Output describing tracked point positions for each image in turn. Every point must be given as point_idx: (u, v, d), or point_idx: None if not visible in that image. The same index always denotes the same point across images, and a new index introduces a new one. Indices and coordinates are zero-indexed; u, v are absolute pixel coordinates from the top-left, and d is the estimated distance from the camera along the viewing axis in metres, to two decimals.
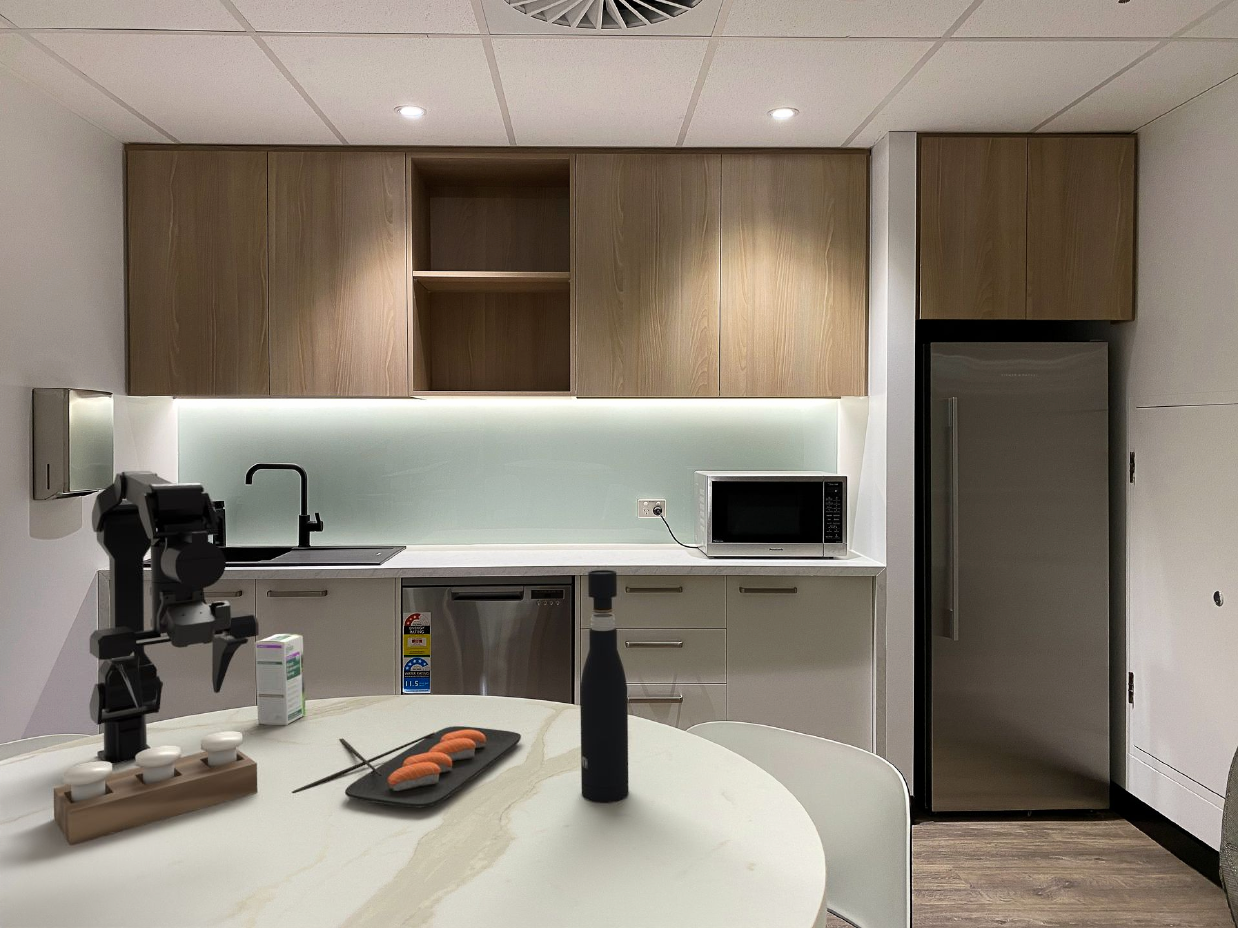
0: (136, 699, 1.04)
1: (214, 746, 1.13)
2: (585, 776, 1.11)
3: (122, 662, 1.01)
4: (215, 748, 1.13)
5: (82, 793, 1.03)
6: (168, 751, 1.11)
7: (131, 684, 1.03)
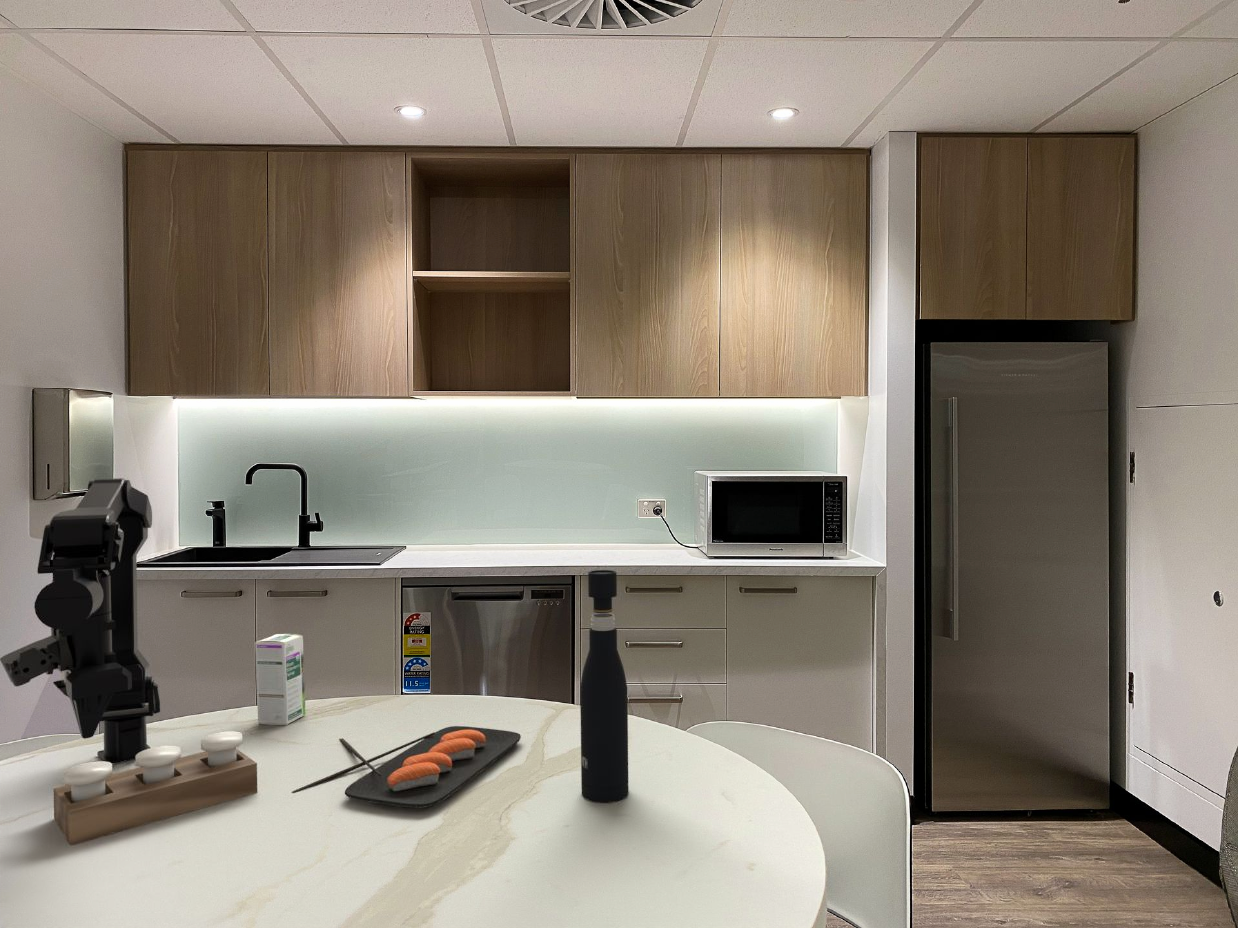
0: (79, 727, 1.05)
1: (214, 746, 1.13)
2: (585, 776, 1.11)
3: (55, 685, 1.05)
4: (215, 748, 1.13)
5: (82, 793, 1.03)
6: (168, 751, 1.11)
7: (74, 710, 1.05)
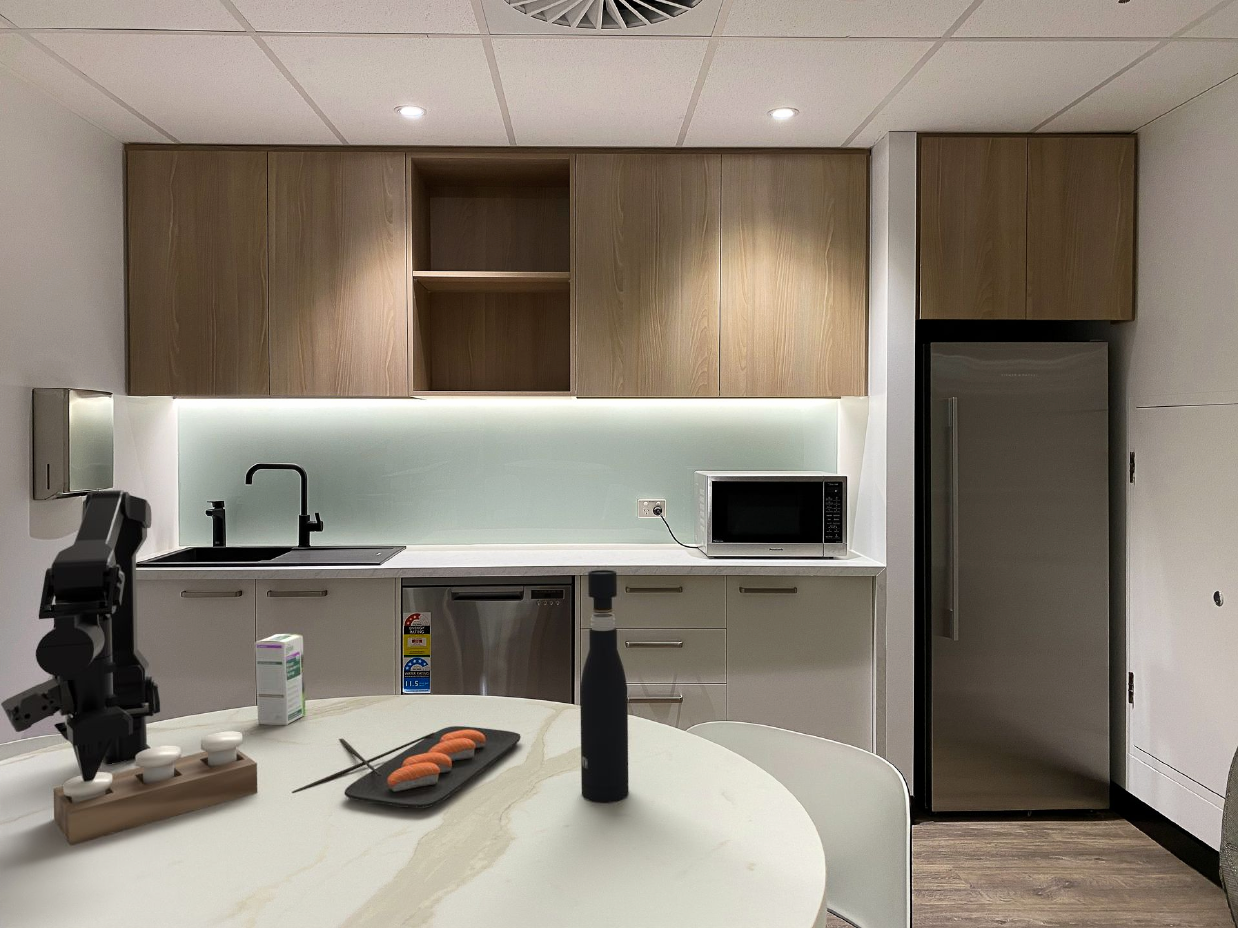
0: (80, 770, 1.05)
1: (214, 746, 1.13)
2: (585, 776, 1.11)
3: (56, 728, 1.05)
4: (215, 748, 1.13)
5: None
6: (168, 751, 1.11)
7: (75, 753, 1.05)
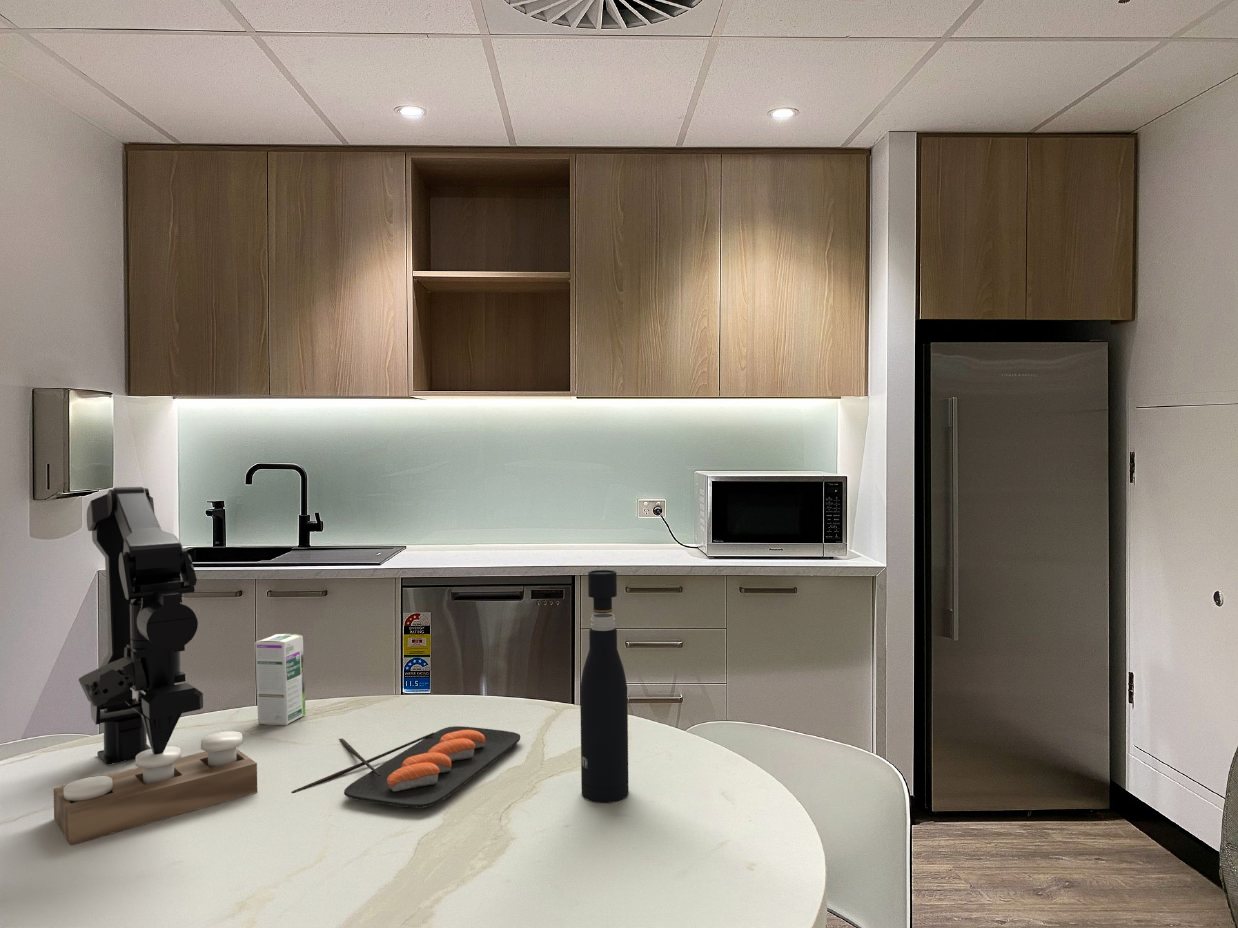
0: (150, 744, 1.11)
1: (214, 746, 1.13)
2: (585, 776, 1.11)
3: (127, 704, 1.10)
4: (215, 748, 1.13)
5: None
6: (168, 752, 1.11)
7: (145, 728, 1.11)
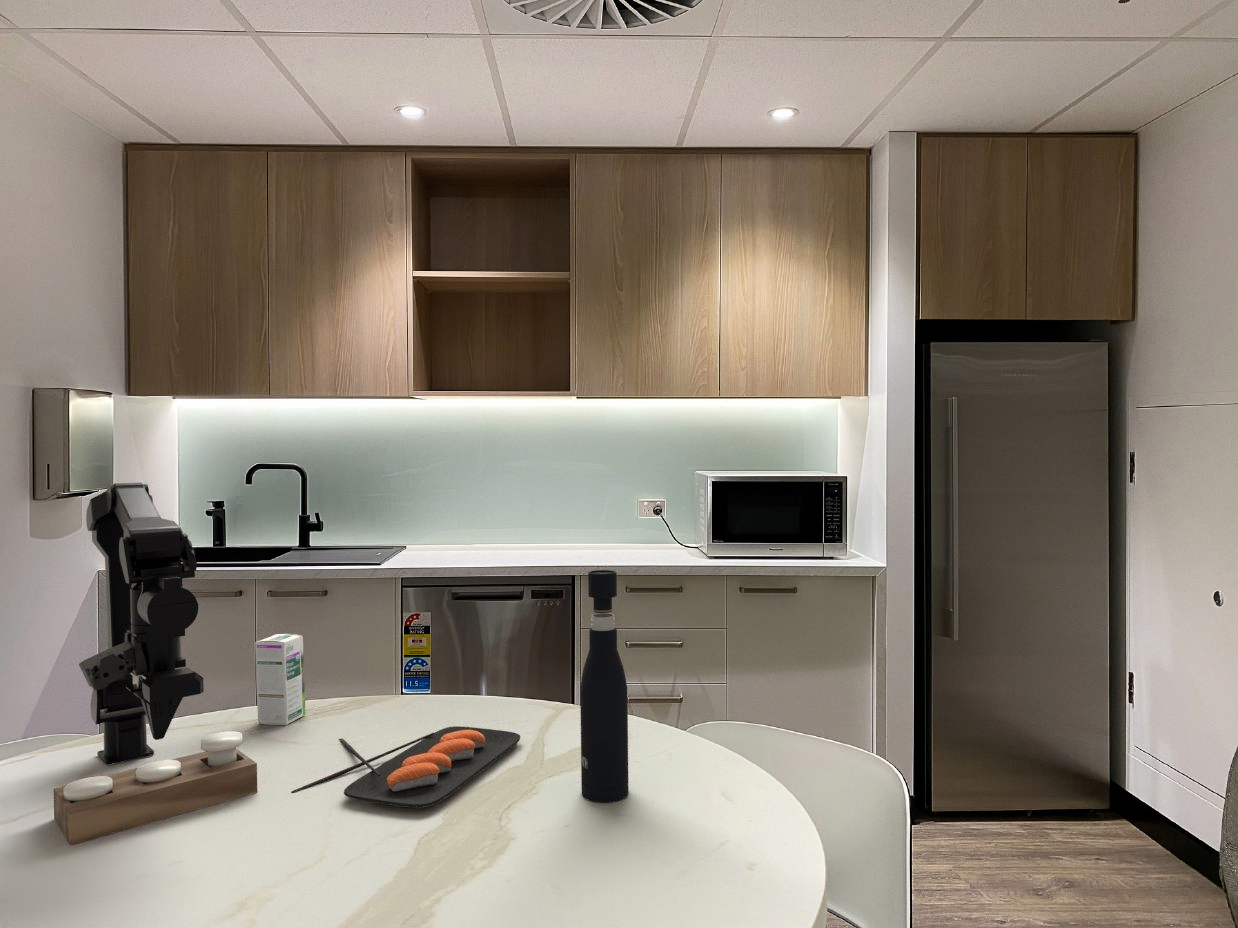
0: (150, 729, 1.10)
1: (214, 746, 1.13)
2: (585, 776, 1.11)
3: (128, 689, 1.10)
4: (215, 748, 1.13)
5: None
6: (168, 766, 1.11)
7: (145, 713, 1.11)
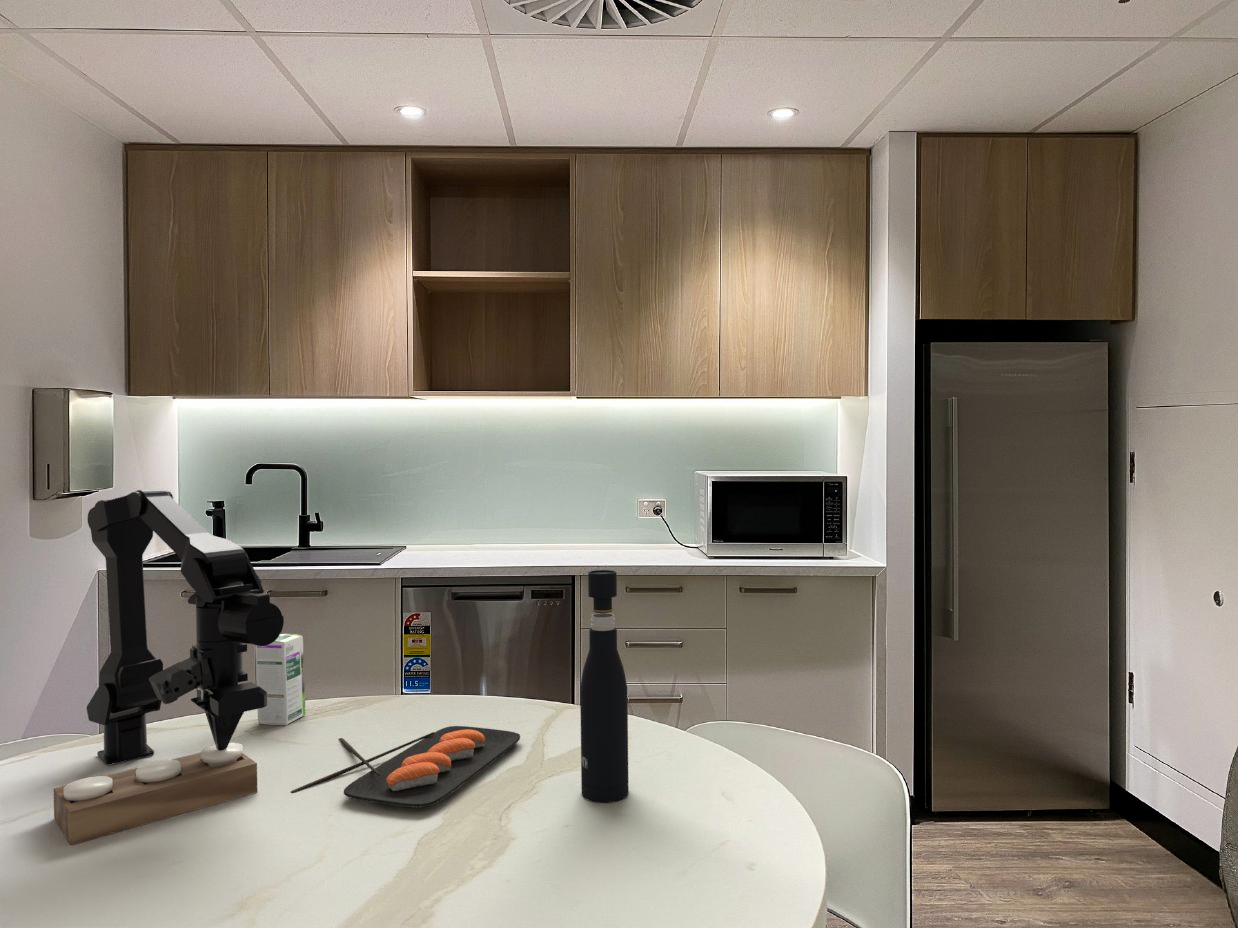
0: (214, 740, 1.16)
1: (214, 758, 1.13)
2: (585, 776, 1.11)
3: (193, 702, 1.16)
4: (215, 760, 1.13)
5: None
6: (168, 766, 1.11)
7: (209, 725, 1.16)
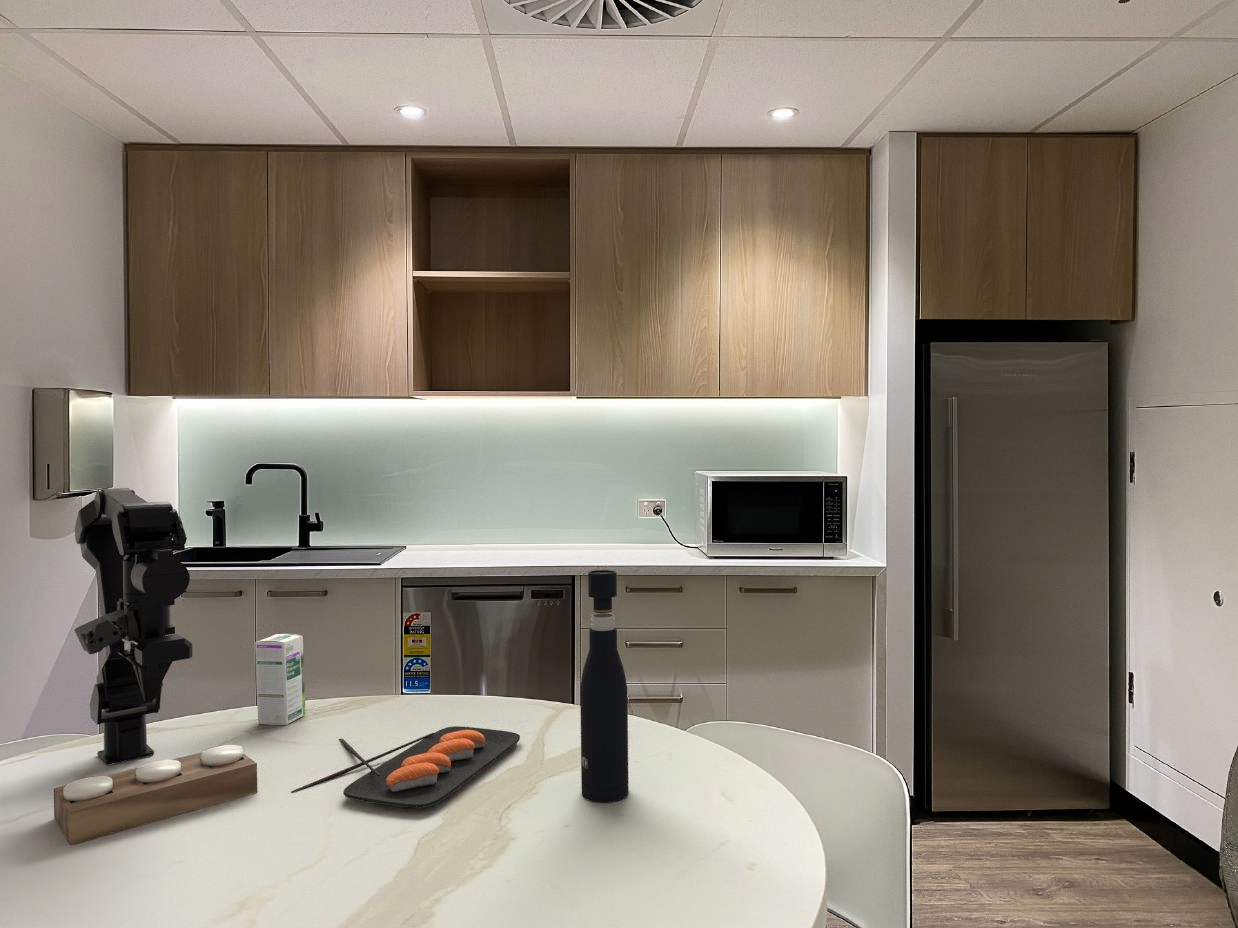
0: (141, 692, 1.18)
1: (214, 760, 1.13)
2: (585, 776, 1.11)
3: (120, 654, 1.18)
4: (215, 762, 1.13)
5: None
6: (168, 766, 1.11)
7: (136, 677, 1.18)
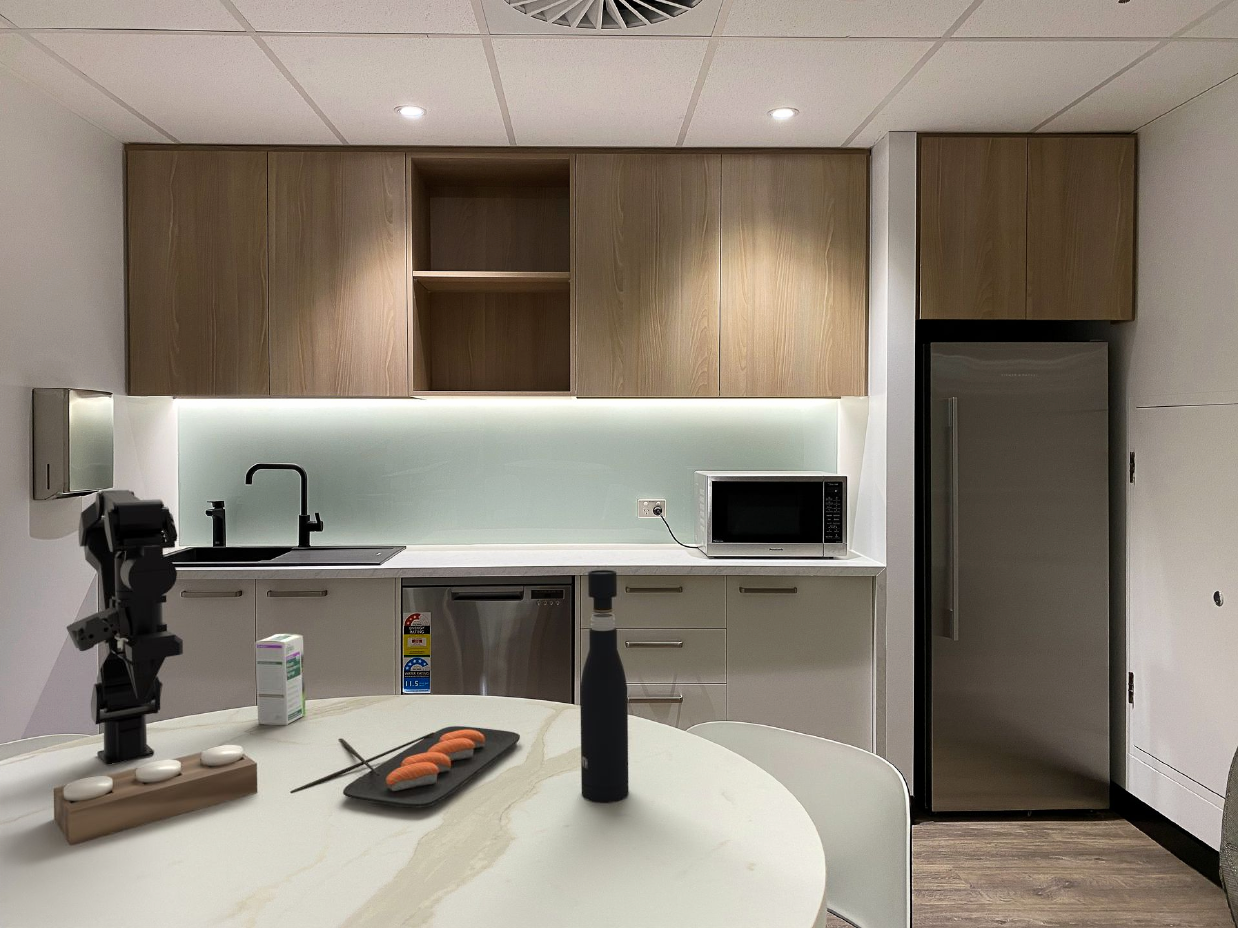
0: (134, 689, 1.18)
1: (214, 760, 1.13)
2: (585, 776, 1.11)
3: (113, 652, 1.18)
4: (215, 762, 1.13)
5: None
6: (168, 766, 1.11)
7: (129, 674, 1.18)
